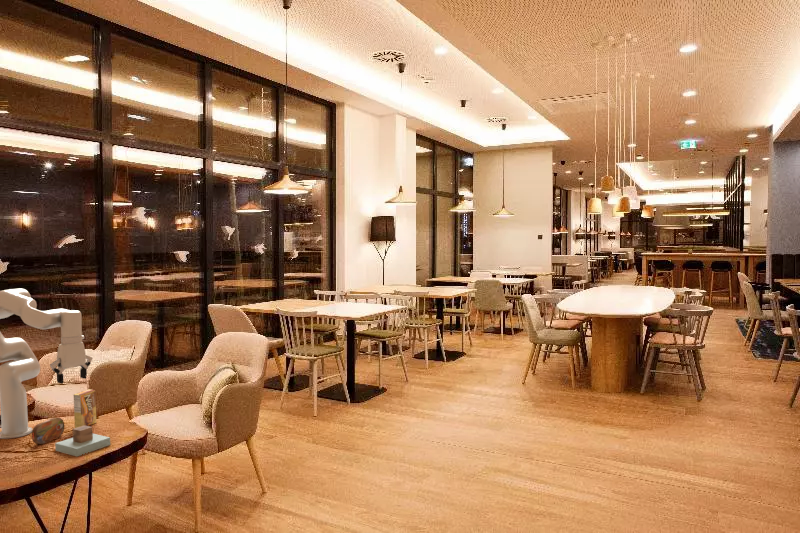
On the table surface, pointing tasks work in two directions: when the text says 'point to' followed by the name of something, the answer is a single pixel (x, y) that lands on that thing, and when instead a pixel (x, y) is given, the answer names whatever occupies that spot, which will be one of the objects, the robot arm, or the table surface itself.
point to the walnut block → (82, 434)
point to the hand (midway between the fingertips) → (72, 380)
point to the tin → (47, 430)
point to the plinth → (82, 445)
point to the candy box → (85, 408)
